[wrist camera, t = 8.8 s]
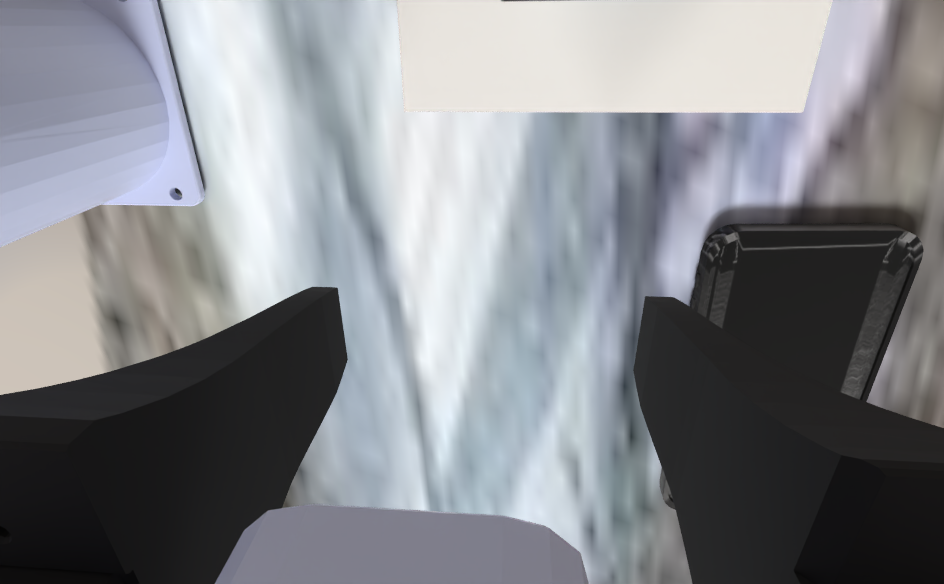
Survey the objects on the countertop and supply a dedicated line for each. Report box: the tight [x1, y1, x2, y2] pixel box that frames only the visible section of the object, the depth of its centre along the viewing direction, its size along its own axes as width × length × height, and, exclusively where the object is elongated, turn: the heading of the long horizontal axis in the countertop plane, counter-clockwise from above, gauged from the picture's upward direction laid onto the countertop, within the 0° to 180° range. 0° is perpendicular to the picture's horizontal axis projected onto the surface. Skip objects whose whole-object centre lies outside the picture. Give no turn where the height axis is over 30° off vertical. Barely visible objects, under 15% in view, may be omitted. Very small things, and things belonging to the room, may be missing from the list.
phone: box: [660, 224, 923, 510], centre depth 23 cm, size 8×1×15 cm
